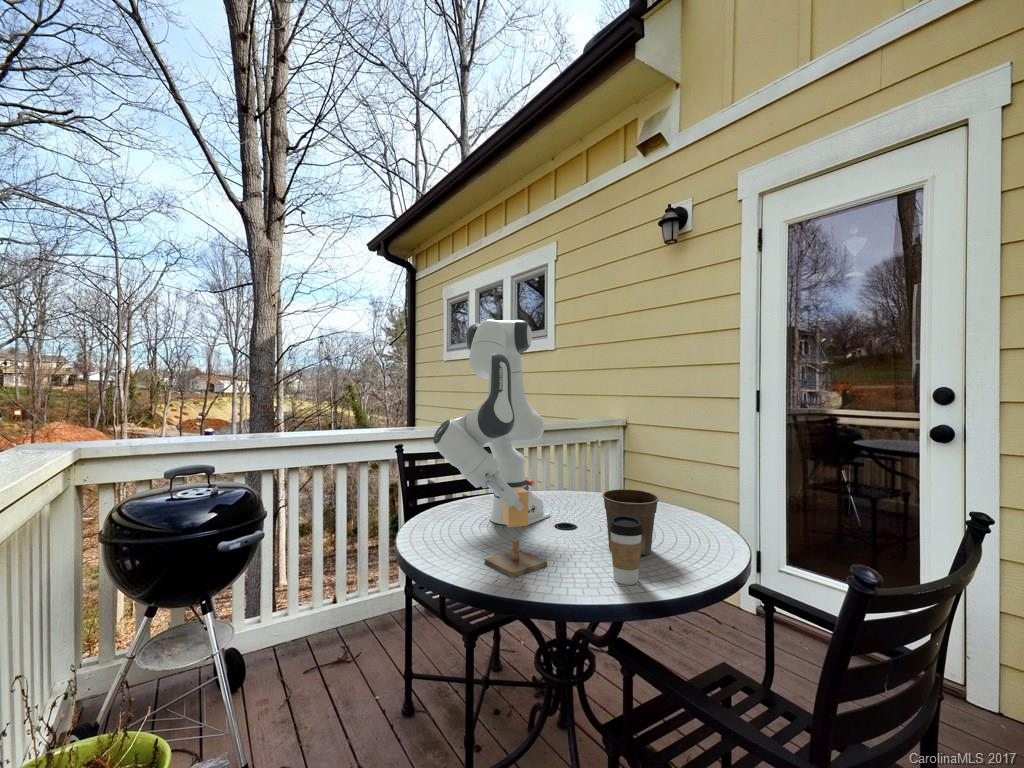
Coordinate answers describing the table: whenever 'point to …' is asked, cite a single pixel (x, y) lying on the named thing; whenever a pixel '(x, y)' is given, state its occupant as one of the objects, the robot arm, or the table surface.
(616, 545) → the coffee cup
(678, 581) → the table surface
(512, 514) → the tall orange pillar
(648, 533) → the plant pot
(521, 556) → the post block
